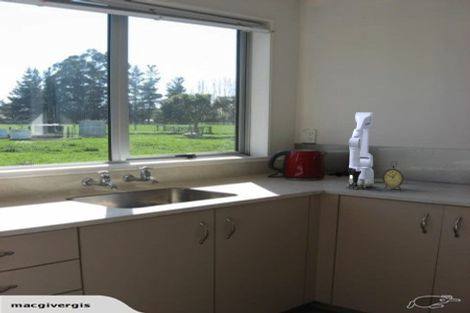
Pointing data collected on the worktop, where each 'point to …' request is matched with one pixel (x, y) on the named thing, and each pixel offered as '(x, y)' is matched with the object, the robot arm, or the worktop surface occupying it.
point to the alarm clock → (393, 177)
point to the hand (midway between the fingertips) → (354, 182)
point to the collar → (352, 181)
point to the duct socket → (362, 183)
